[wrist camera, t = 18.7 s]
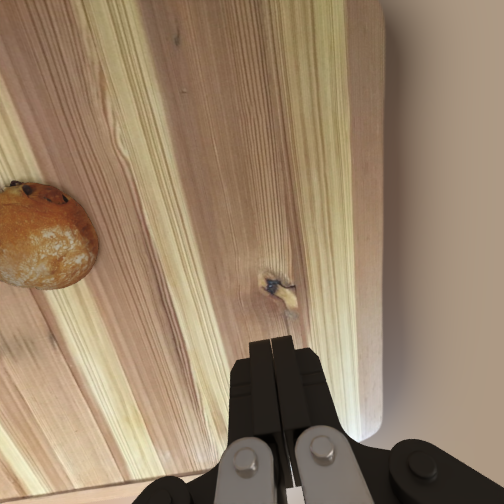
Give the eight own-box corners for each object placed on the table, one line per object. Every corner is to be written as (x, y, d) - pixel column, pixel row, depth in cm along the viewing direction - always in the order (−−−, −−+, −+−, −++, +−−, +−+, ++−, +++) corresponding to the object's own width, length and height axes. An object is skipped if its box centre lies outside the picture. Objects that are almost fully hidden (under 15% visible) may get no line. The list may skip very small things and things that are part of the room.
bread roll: (27, 248, 37) (-7, 310, 31) (-32, 171, 29) (-92, 236, 24) (117, 246, 37) (97, 307, 32) (81, 169, 29) (48, 233, 24)
